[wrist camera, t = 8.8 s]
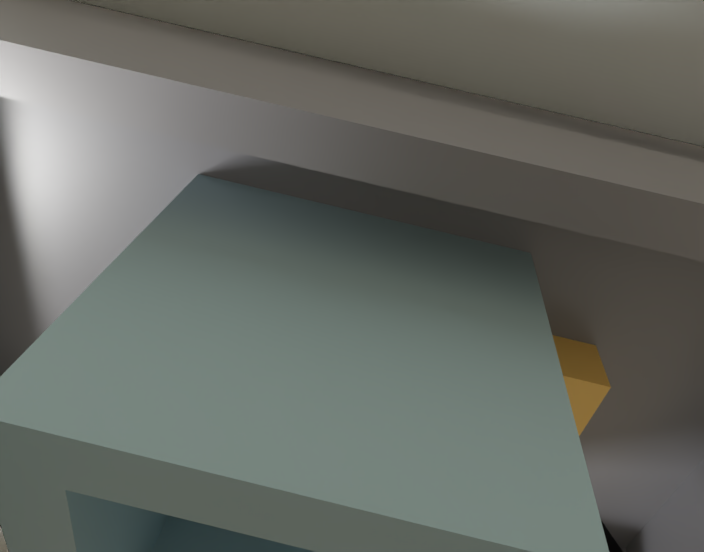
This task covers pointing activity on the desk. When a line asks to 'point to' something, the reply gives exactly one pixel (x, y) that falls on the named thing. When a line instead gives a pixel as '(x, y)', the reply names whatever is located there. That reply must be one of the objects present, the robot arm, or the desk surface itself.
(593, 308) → the tray
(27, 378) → the sleeve
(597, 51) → the desk surface
